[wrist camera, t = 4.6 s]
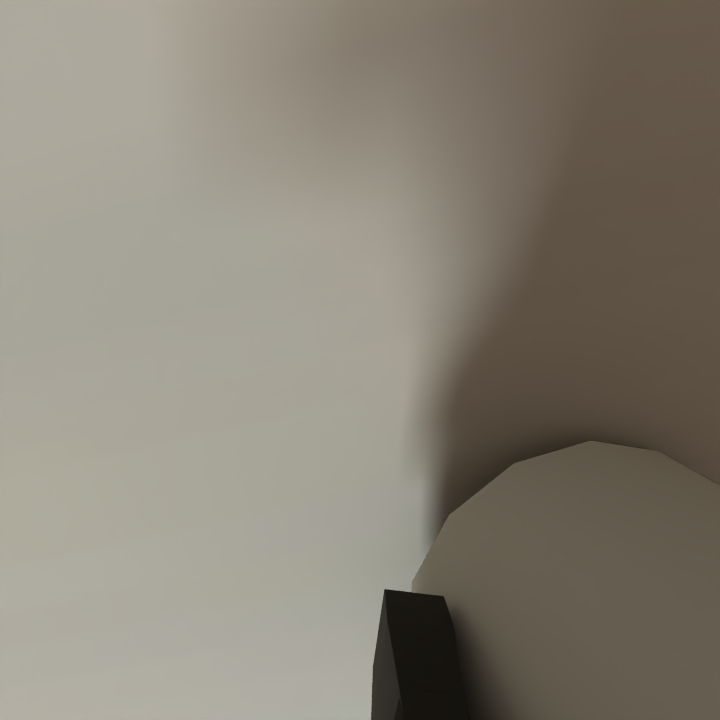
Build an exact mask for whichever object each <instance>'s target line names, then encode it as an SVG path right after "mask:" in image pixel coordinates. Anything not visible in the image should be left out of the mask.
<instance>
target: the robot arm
mask: <svg viewBox="0 0 720 720" xmlns="http://www.w3.org/2000/svg"><path fill="white" fill-rule="evenodd" d="M371 720H470V718H469V716H468V714H467V712H466V705H465V697H464V690H463V683H462V676H461V669H460V662H459V655H458V648H457V642H456V635H455V629H454V626H453V622H452V619H451V616H450V612H449V610H448V607H447V604H446V601H445V598H444V596H439V595H430V594H421V593H413V592H404V591H395V590H386V589H384V596H383V603H382V610H381V617H380V623H379V630H378V637H377V644H376V650H375V657H374V664H373V683H372V712H371Z"/></svg>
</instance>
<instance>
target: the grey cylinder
mask: <svg viewBox="0 0 720 720" xmlns="http://www.w3.org/2000/svg"><path fill="white" fill-rule="evenodd" d="M412 592H413V593H421V594H430V595H439V596H444V598H445V601H446V604H447V607H448V610H449V612H450V616H451V619H452V622H453V626H454V629H455V635H456V642H457V648H458V655H459V662H460V669H461V676H462V683H463V690H464V697H465V705H466V712H467V714H468V716H469V718H470V720H720V485H718V484H716V483H714V482H712V481H711V480H709V479H707V478H705V477H704V476H702V475H700V474H698V473H696V472H695V471H693V470H691V469H689V468H688V467H686V466H684V465H682V464H680V463H679V462H677V461H675V460H673V459H672V458H670V457H668V456H666V455H664V454H663V453H661V452H659V451H654V450H648V449H641V448H635V447H629V446H622V445H616V444H609V443H603V442H597V441H587V442H584V443H580V444H577V445H574V446H570V447H567V448H564V449H560V450H557V451H553V452H550V453H547V454H543V455H540V456H537V457H533V458H530V459H527V460H523V461H520V462H517V463H514V464H512V465H511V466H510V467H509V468H507V469H506V470H505V471H504V472H502V473H501V474H500V475H499V476H497V477H496V478H495V479H494V480H492V481H491V482H490V483H489V484H487V485H486V486H485V487H484V488H482V489H481V490H480V491H479V492H477V493H476V494H475V495H474V496H472V497H471V498H470V499H469V500H467V501H466V502H465V503H464V504H462V505H461V506H460V507H459V508H457V509H456V510H455V511H454V512H452V513H451V514H450V515H449V516H448V517H447V519H446V521H445V523H444V525H443V527H442V528H441V530H440V532H439V534H438V536H437V538H436V539H435V541H434V543H433V545H432V547H431V548H430V550H429V552H428V554H427V556H426V558H425V559H424V561H423V563H422V565H421V567H420V569H419V570H418V572H417V574H416V576H415V578H414V579H413V581H412Z"/></svg>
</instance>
